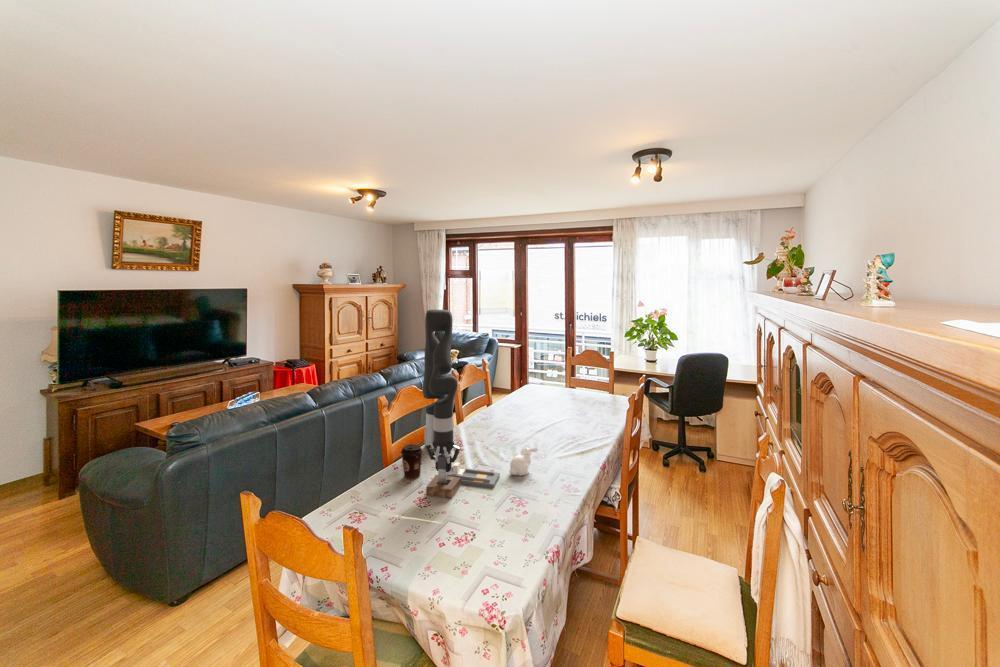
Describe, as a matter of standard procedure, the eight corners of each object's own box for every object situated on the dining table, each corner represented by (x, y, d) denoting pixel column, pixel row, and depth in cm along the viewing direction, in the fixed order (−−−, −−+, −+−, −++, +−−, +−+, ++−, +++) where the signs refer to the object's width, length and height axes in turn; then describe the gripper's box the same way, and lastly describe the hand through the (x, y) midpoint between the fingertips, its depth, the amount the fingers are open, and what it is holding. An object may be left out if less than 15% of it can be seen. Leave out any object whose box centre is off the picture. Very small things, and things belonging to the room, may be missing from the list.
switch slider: (452, 475, 174) (452, 466, 174) (456, 470, 179) (456, 461, 179) (461, 476, 173) (461, 467, 173) (465, 471, 178) (465, 462, 178)
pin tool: (437, 486, 164) (437, 456, 162) (441, 482, 167) (440, 452, 166) (446, 487, 163) (446, 457, 162) (449, 483, 166) (449, 453, 165)
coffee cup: (403, 483, 172) (402, 452, 170) (399, 474, 179) (398, 444, 177) (424, 479, 175) (424, 449, 173) (420, 471, 183) (419, 441, 181)
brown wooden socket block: (426, 496, 162) (426, 486, 161) (436, 484, 171) (436, 474, 171) (451, 499, 159) (451, 489, 159) (460, 487, 169) (460, 477, 168)
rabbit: (522, 465, 190) (523, 439, 188) (539, 472, 183) (540, 445, 182) (504, 474, 181) (504, 447, 179) (521, 481, 174) (521, 453, 173)
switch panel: (440, 482, 173) (440, 475, 173) (449, 471, 183) (449, 464, 182) (493, 489, 168) (493, 481, 167) (499, 477, 177) (499, 470, 177)
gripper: (421, 429, 160) (422, 472, 162) (457, 432, 157) (457, 477, 159) (429, 422, 167) (430, 464, 170) (464, 426, 164) (464, 468, 166)
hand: (443, 470), depth 164 cm, fingers closed on pin tool, 3 cm apart
